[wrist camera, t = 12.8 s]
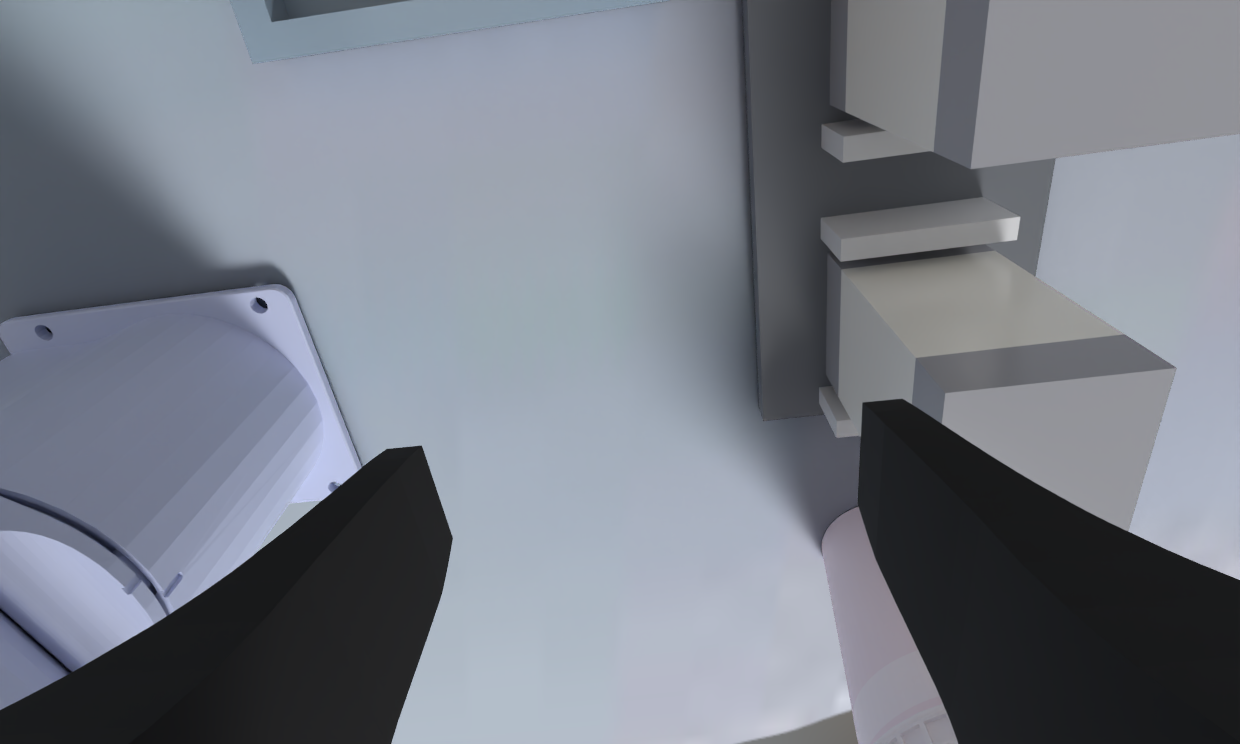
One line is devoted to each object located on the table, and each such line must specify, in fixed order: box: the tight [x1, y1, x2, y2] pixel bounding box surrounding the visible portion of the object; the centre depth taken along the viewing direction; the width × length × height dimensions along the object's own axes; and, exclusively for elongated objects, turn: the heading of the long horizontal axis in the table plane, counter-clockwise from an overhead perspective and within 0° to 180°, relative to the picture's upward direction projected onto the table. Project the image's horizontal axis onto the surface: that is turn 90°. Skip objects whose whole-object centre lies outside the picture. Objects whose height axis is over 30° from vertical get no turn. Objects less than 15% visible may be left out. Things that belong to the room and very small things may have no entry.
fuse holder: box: [742, 0, 1055, 438], centre depth 16 cm, size 8×23×3 cm, turn 8°
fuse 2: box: [826, 244, 1176, 531], centre depth 16 cm, size 4×4×8 cm
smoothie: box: [822, 507, 958, 744], centre depth 19 cm, size 6×6×14 cm
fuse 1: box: [830, 0, 1240, 169], centre depth 13 cm, size 4×4×8 cm
